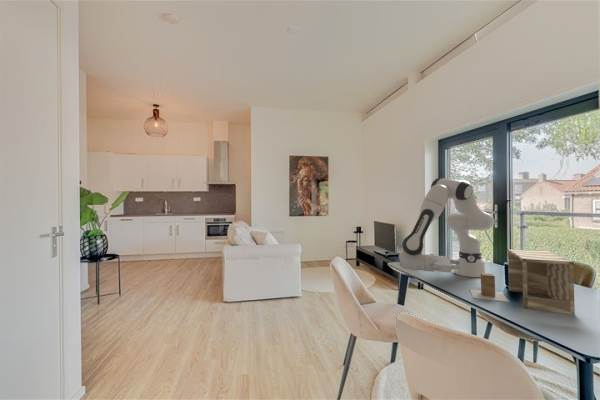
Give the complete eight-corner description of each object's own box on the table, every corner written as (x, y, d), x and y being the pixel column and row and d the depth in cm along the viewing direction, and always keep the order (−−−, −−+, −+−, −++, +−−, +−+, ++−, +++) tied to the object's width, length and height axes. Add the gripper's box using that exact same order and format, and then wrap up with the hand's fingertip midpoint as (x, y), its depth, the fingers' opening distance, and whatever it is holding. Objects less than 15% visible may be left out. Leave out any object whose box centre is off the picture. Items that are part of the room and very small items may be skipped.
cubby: (509, 290, 142) (507, 249, 142) (549, 294, 135) (548, 251, 135) (524, 308, 118) (523, 258, 118) (574, 314, 111) (573, 261, 111)
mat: (469, 289, 144) (469, 289, 144) (502, 293, 138) (502, 292, 138) (473, 298, 132) (473, 297, 132) (509, 302, 126) (509, 301, 126)
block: (481, 292, 138) (480, 272, 138) (493, 294, 136) (492, 273, 136) (482, 295, 134) (482, 275, 134) (495, 297, 132) (494, 276, 132)
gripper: (430, 261, 139) (462, 263, 133) (430, 253, 157) (458, 254, 151) (430, 274, 139) (462, 276, 133) (431, 264, 157) (459, 266, 151)
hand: (460, 264), depth 142 cm, fingers open, 8 cm apart
